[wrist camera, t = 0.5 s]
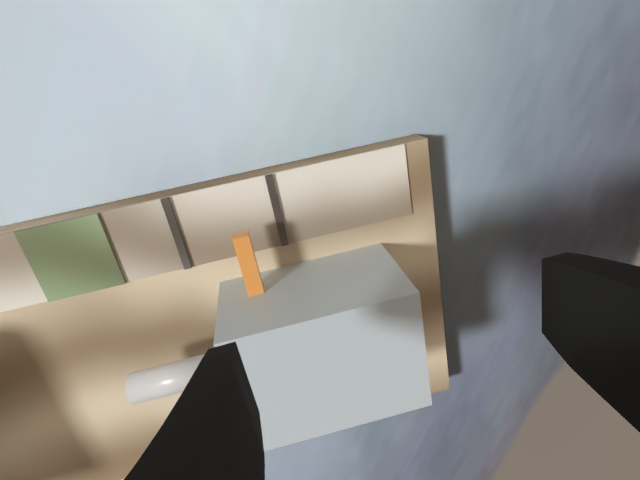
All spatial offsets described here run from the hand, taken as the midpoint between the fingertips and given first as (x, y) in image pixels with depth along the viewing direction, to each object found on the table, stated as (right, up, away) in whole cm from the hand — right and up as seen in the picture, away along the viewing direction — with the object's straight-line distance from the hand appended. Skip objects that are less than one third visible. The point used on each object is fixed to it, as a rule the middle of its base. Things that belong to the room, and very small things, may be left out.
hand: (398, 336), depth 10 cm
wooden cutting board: (-9, -2, +10) cm, 14 cm away
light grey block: (-4, 0, +9) cm, 10 cm away
